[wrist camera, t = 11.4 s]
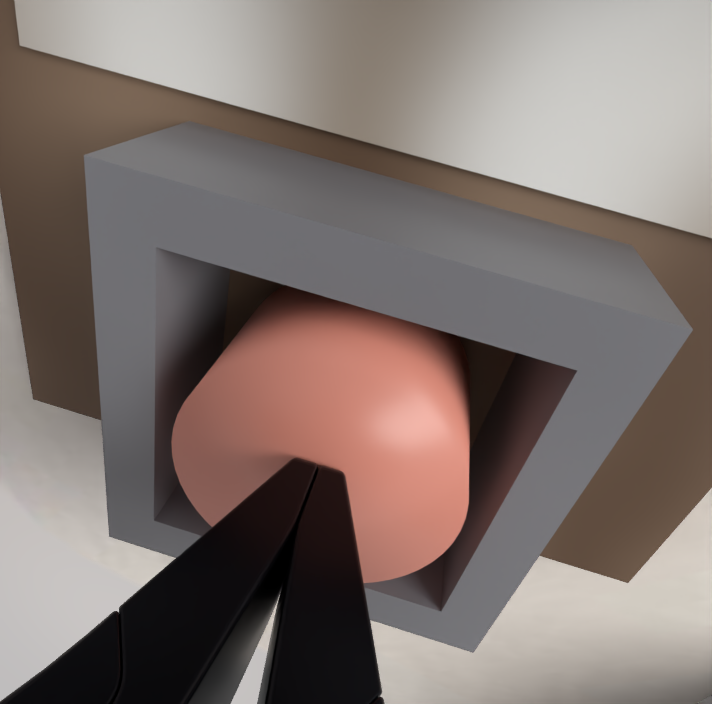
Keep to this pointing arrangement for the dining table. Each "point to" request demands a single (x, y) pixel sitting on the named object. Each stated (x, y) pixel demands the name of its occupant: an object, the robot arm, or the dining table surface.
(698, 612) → the dining table surface
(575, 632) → the dining table surface
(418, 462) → the button
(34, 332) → the picture frame
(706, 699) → the lumpy-topped squat cylinder
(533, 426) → the button housing
